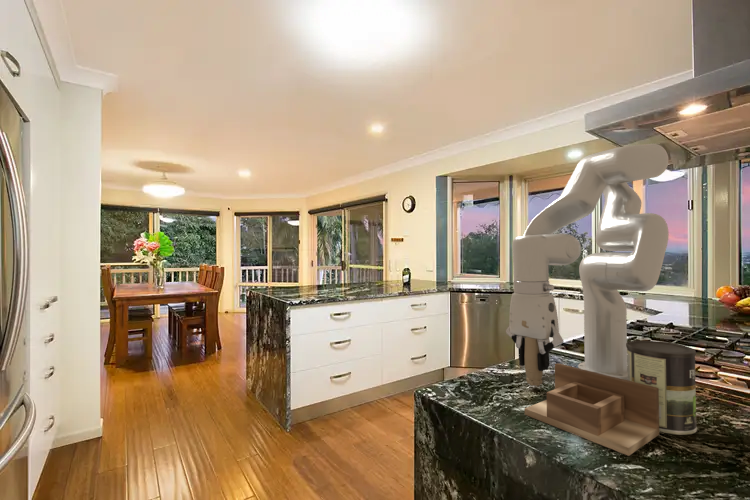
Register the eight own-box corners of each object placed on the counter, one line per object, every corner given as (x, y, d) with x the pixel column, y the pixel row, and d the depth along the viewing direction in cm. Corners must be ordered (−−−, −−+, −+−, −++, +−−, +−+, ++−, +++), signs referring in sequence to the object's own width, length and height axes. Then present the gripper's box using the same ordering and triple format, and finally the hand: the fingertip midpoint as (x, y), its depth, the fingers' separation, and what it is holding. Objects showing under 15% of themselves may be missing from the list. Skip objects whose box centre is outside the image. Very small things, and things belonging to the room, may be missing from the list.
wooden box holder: (558, 400, 79) (557, 363, 79) (659, 434, 64) (658, 388, 64) (524, 414, 72) (524, 373, 72) (628, 455, 57) (628, 404, 57)
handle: (543, 390, 82) (541, 322, 82) (516, 383, 86) (514, 319, 86) (552, 384, 85) (550, 319, 85) (525, 378, 90) (523, 316, 90)
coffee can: (690, 417, 70) (689, 343, 71) (703, 441, 62) (701, 356, 62) (625, 406, 76) (624, 337, 76) (628, 426, 67) (627, 348, 67)
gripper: (576, 289, 81) (578, 372, 81) (510, 284, 95) (512, 356, 95) (557, 292, 77) (560, 380, 77) (491, 287, 90) (493, 361, 90)
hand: (533, 366), depth 86 cm, fingers closed on handle, 4 cm apart
